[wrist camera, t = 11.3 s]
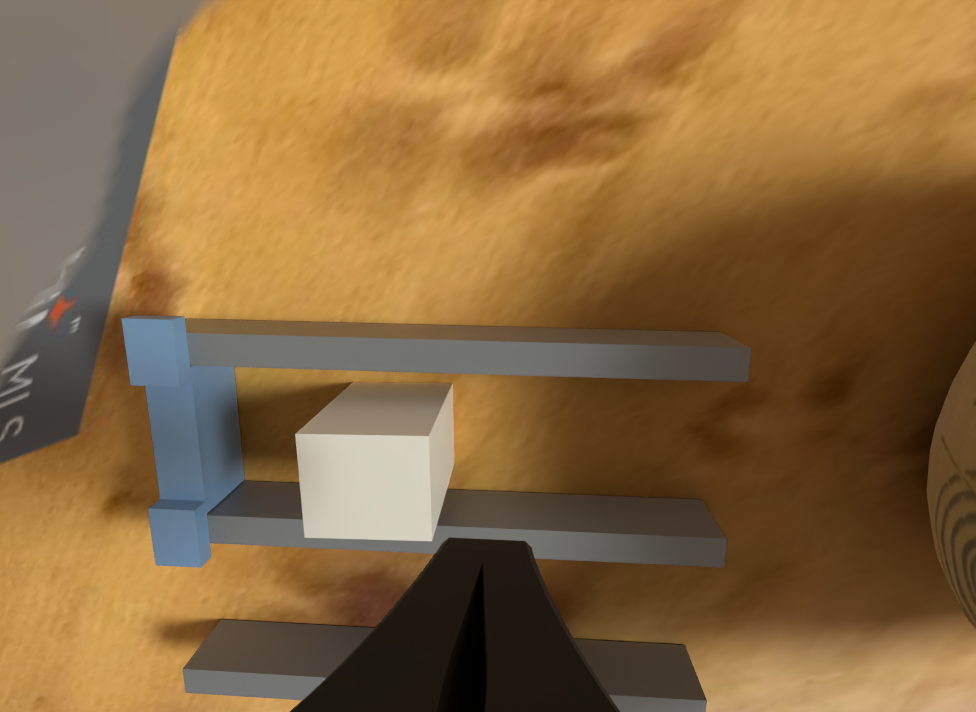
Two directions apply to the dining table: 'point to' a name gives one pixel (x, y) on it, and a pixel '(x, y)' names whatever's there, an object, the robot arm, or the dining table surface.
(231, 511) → the metal rails
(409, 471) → the cream rectangular box
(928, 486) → the ceramic bowl
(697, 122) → the dining table surface
